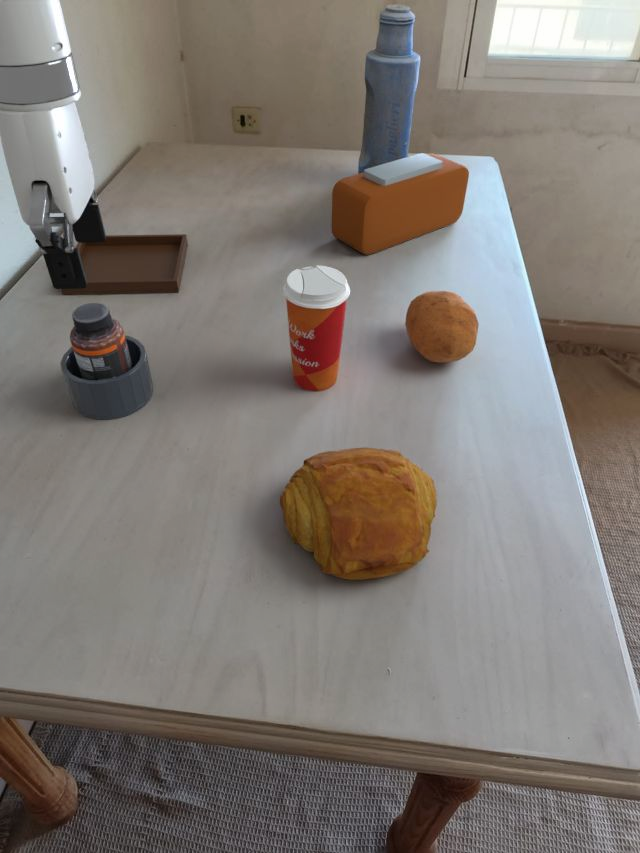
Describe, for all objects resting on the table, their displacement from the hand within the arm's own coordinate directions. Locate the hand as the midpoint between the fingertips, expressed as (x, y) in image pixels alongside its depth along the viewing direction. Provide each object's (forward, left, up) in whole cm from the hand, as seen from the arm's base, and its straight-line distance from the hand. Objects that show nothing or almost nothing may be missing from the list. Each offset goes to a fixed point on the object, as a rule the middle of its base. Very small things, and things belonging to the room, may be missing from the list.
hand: (82, 263), depth 65 cm
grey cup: (0, 0, -18) cm, 18 cm away
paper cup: (+25, +2, -18) cm, 30 cm away
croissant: (+28, -22, -18) cm, 39 cm away
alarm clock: (+41, +43, -18) cm, 63 cm away
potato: (+42, +7, -18) cm, 46 cm away
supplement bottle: (0, 0, -17) cm, 17 cm away
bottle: (+42, +64, -18) cm, 79 cm away
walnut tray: (-3, +31, -18) cm, 36 cm away
